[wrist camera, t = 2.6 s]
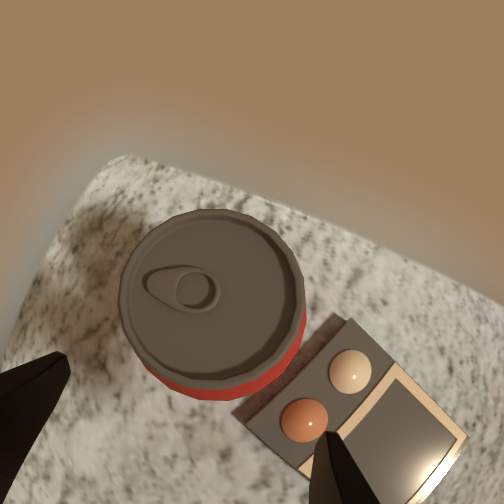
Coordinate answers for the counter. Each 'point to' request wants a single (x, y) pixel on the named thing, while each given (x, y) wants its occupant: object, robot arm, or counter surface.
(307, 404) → the slate card
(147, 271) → the beer can
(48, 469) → the counter surface
